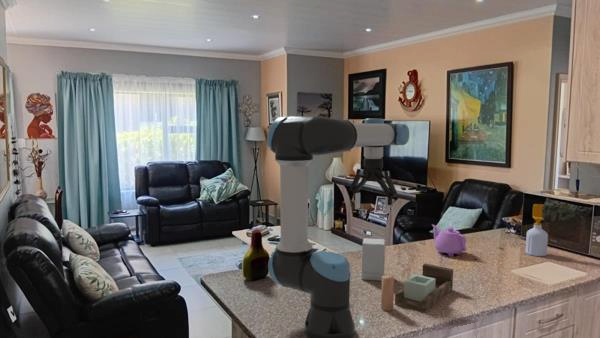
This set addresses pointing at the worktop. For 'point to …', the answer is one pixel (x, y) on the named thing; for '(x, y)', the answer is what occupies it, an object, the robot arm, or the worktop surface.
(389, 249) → the worktop surface
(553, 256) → the worktop surface
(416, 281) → the socket block
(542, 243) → the soap bottle
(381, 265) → the supplement box
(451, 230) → the teapot
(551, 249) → the worktop surface
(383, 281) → the dowel
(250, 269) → the bottle
